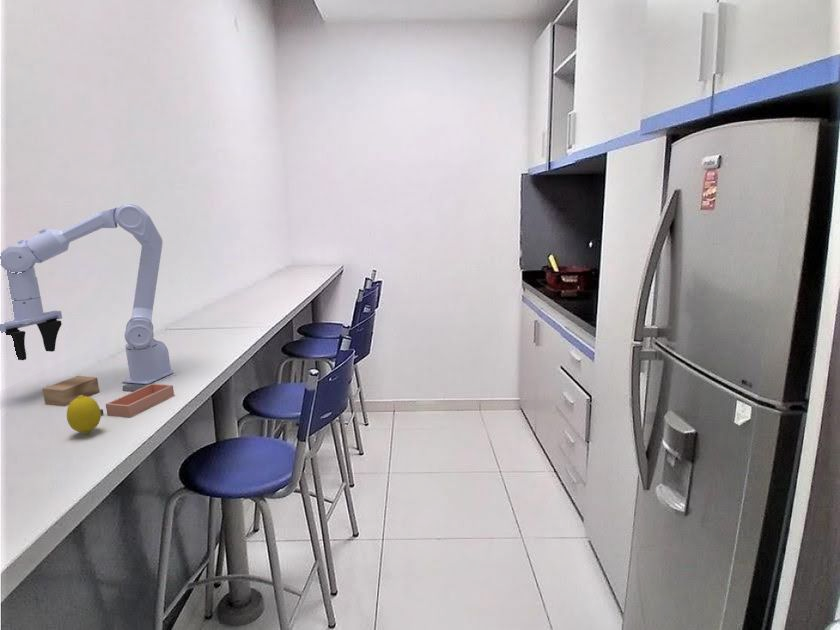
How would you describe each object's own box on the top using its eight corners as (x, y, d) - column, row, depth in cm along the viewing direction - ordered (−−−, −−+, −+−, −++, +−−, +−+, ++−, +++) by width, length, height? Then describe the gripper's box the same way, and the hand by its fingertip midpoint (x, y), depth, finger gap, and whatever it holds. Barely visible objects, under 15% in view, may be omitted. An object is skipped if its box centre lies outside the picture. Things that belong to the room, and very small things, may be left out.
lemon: (97, 425, 107) (90, 388, 105) (108, 432, 104) (101, 394, 102) (66, 435, 103) (59, 396, 101) (76, 442, 99) (69, 402, 98)
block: (80, 391, 128) (77, 375, 127) (99, 393, 127) (97, 377, 126) (45, 405, 120) (42, 388, 119) (65, 407, 118) (62, 390, 117)
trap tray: (153, 393, 125) (151, 383, 124) (174, 395, 123) (172, 385, 122) (107, 415, 112) (105, 404, 112) (129, 417, 111) (128, 406, 110)
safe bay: (127, 388, 128) (127, 383, 128) (154, 391, 126) (153, 386, 126) (68, 414, 113) (67, 408, 113) (97, 417, 111) (96, 412, 111)
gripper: (42, 292, 129) (52, 346, 132) (-21, 304, 115) (-9, 363, 118) (64, 293, 127) (74, 347, 130) (2, 304, 113) (15, 365, 116)
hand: (36, 355), depth 124 cm, fingers open, 6 cm apart
